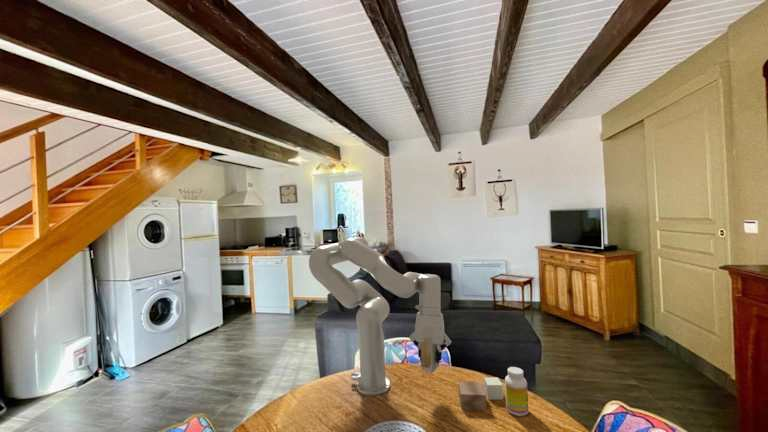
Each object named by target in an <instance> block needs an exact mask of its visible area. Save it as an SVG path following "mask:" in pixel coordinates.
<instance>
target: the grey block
mask: <svg viewBox="0 0 768 432" xmlns="http://www.w3.org/2000/svg"><path fill="white" fill-rule="evenodd" d="M503 385H504V384H503V383H502V382H501V380H500V378H499V377H498V376H497V377H494V376H493V377H483V388H484V391H485V394H486V399H487V400H492V401H493V400H504V389H503Z"/></svg>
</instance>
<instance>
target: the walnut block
mask: <svg viewBox="0 0 768 432" xmlns="http://www.w3.org/2000/svg"><path fill="white" fill-rule="evenodd" d="M457 383H458V387H457V388H458V398H459V403H460V409H461V410H475V411H487V409H488V408H487V396H486V394H485V391H484V384H483V382H482V381H460V380H459V381H458V382H457Z"/></svg>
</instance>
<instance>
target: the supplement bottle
mask: <svg viewBox="0 0 768 432" xmlns="http://www.w3.org/2000/svg"><path fill="white" fill-rule="evenodd" d="M504 388H505V390H504V391H505V393H504V394H505V408H506V410H507V411H508V413H510V414H512V415H514V416H517V417H524V416H526V415H528V413H529V397H528V396H529V394H528V393H529V391H528V382H527V379H526V378H525V377H524V370H523V369H521V368H520V367H518V366H517V367H516V366H509V367H508V368H507V375H506V376H505V378H504Z"/></svg>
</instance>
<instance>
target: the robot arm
mask: <svg viewBox="0 0 768 432" xmlns="http://www.w3.org/2000/svg"><path fill="white" fill-rule="evenodd" d="M347 261H348V262H350V263H352V264H353V265H355V266H357V267H359V268H360V269H361V270H362V269H363V271H365V272H367V273H368V274H369V275H371V276H372V277H373V279H374V280H375V281H376V282H377V283H378V284H379V285H380V287H382V288H384V289H385V290H387V291H388V292H390V293H392V294H393V295H395V296H397V297H399V298H403V299H408V298H411V297H412V296H413V295H415V294H416V293H418V296H419V297H418V298H419V299H418V301H419V302H418V303H419V304H416V305H415V309H416V310H418V312H417V313H416V318H415V324H414V325H415V326H414V327H415V329H414V331H413V332H412V333H411V334H410V335H409V337H408V338H409V340H410V341H411V342H412V343H413V344H414V346H415V347H416V348H417V351H418V352H417V354H418V355H417V356H418V358H419V362H421V343H424V338H425V337H428V338H432V343H433V344H434V345H437V349H438V350H437V363H438V364H439V365H440V361H442V359H443V358H442V357H443V356H442V353H443V350H446V348H447V347H448V346H450V345H451V344H452V340H451V339H450V337H449V336H448V335H447V334H446V332H445V321H444V315H443V313H442V312H441V309H442V307H441V305H442V304H441V297H442V296H441V293H442V292H441V289H442V287H441V286H442V285H441V282H442V281H441V277H440V276H439V275H437V274H433V273H432V274H431V273H424V274H423V273H418V272H415V271H414V272H412V271H407V272H406V273H404V274H402V273H400V272H398V271H396V270H395V269H394V268H392V267H391V266H390V265H389V264H388V263H387V262H386V260H385V256H384V254H383V253H381V252H379V251H377V250H376V249H374V248H372V247H370V245H369V242H368V241H367V240H366V238H363V237H362V236H355V237H349V238H346V239H344V240H343V241H339V242H335V243H329V244H325V245H321V246H318V247H316V248H315V249H313V250H312V251H311V252H310V255H309V259H308V268H309V271H310V273H311V274H312V277H314V279H315V280H316V281H317V282H319V283H320V284H321V285H322V286H323V287H324V288H325V289H326V290H327V291H328V292H329V293H330V294H331V295H332V296H333V297H334V298H335V299H336V300H337V301H338V302H339V303H340V304H341V305H342V306H343V307H345V308H347V309H353V308H356V307H357V306H359V307H360V308H359V309H358V310H357V312H356V317H355V322H356V327H357V333H358V347H359V348H358V349H359V350H358V351H359V372H357V371H352V372H351V374H350V377H351V380H352V381H357V382H356V390H357V391H358V392H359V393H360V394H362V395H365V396H372V397H373V396H379V395H382V394H384V393H386V392H387V391H388V390H389V389H390V388H391V387H390V386H391V382H390V380H389V379H388V378H387V376H386V359H385V358H386V357H385V353H386V352H385V335H384V331H383V326H382V325H383V322H384V321H385V320H386V318H387V317H388V316H389V314H390V309H391V308H390V304H389V302H388V301H387V299H385V297H384V296H383V295H382V294H381V293H379V292H378V291H377V289H375V288H374V287H373V286H372V285H371V284H370V283H368V282H367V281H365V280H363V279H360V278H357V279H353V280H351V279H350V278H348V277H347V276H345V274H344V273H343V272H342V271H340V270H338V269H337V268H335V267H334V265H337V264H339V263H343V262H347Z"/></svg>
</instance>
